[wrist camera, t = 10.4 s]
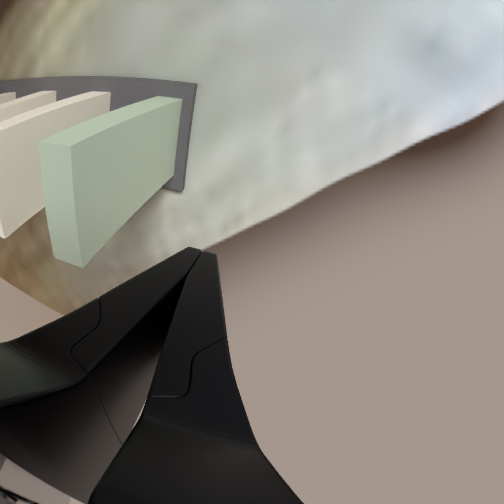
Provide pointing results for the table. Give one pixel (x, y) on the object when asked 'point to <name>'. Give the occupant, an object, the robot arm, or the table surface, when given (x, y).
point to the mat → (122, 102)
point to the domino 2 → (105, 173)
